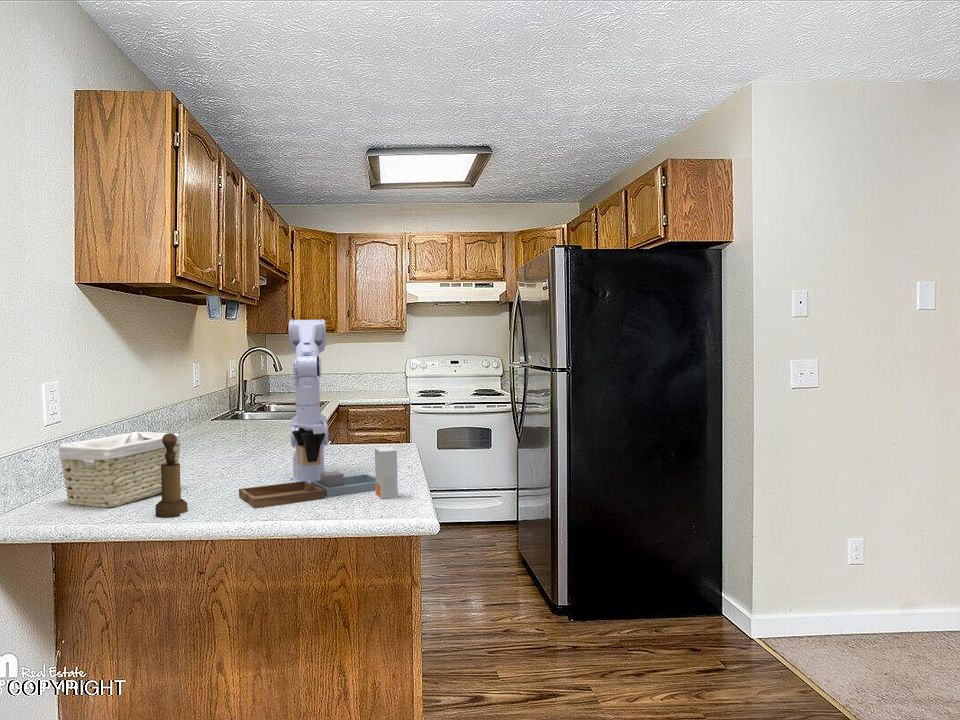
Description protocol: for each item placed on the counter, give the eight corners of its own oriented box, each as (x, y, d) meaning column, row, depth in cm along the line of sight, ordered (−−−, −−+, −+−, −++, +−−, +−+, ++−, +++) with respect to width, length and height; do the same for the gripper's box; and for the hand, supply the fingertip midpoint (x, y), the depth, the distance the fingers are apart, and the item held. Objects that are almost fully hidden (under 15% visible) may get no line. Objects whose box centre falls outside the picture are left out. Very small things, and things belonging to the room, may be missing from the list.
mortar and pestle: (192, 510, 165) (189, 431, 165) (181, 517, 159) (179, 435, 158) (162, 510, 165) (160, 432, 164) (150, 518, 158) (148, 436, 158)
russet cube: (297, 463, 178) (296, 445, 178) (314, 461, 181) (314, 444, 181) (302, 466, 175) (302, 448, 174) (320, 464, 177) (320, 446, 177)
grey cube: (320, 490, 182) (320, 473, 182) (337, 488, 184) (337, 471, 184) (326, 493, 178) (326, 476, 178) (343, 491, 180) (343, 473, 180)
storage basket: (107, 511, 166) (105, 446, 165) (56, 505, 172) (54, 443, 171) (185, 489, 188) (183, 432, 188) (137, 485, 194) (135, 430, 194)
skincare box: (375, 496, 177) (374, 447, 176) (392, 494, 178) (391, 446, 178) (380, 501, 171) (379, 451, 171) (398, 499, 173) (397, 449, 172)
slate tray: (310, 490, 184) (310, 480, 184) (367, 483, 192) (367, 473, 192) (327, 499, 174) (326, 488, 174) (386, 490, 183) (386, 481, 183)
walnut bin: (239, 499, 175) (238, 489, 175) (305, 490, 184) (305, 480, 184) (254, 510, 164) (254, 499, 164) (325, 500, 173) (324, 490, 173)
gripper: (282, 403, 181) (284, 457, 182) (301, 408, 169) (302, 466, 169) (310, 401, 185) (311, 454, 185) (330, 406, 173) (331, 463, 173)
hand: (309, 460), depth 178 cm, fingers closed on russet cube, 4 cm apart
